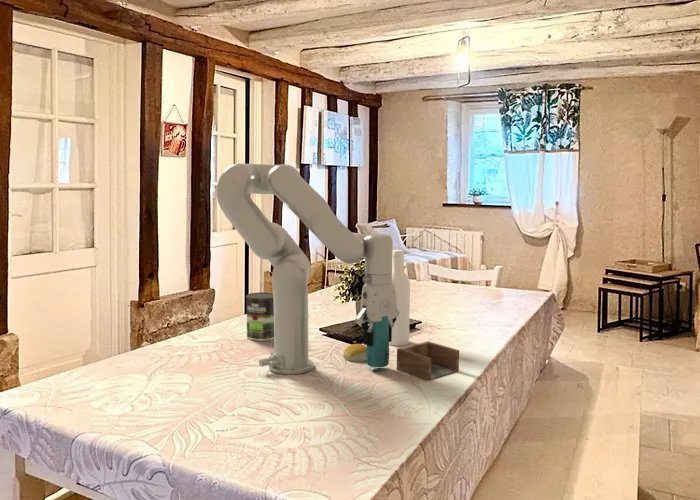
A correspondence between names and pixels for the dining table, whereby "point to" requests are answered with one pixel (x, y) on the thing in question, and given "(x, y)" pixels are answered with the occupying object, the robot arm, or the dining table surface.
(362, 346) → the bread roll
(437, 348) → the u rest
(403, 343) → the bottle
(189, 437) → the dining table surface
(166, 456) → the dining table surface
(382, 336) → the beverage bottle
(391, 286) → the robot arm
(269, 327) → the coffee can
